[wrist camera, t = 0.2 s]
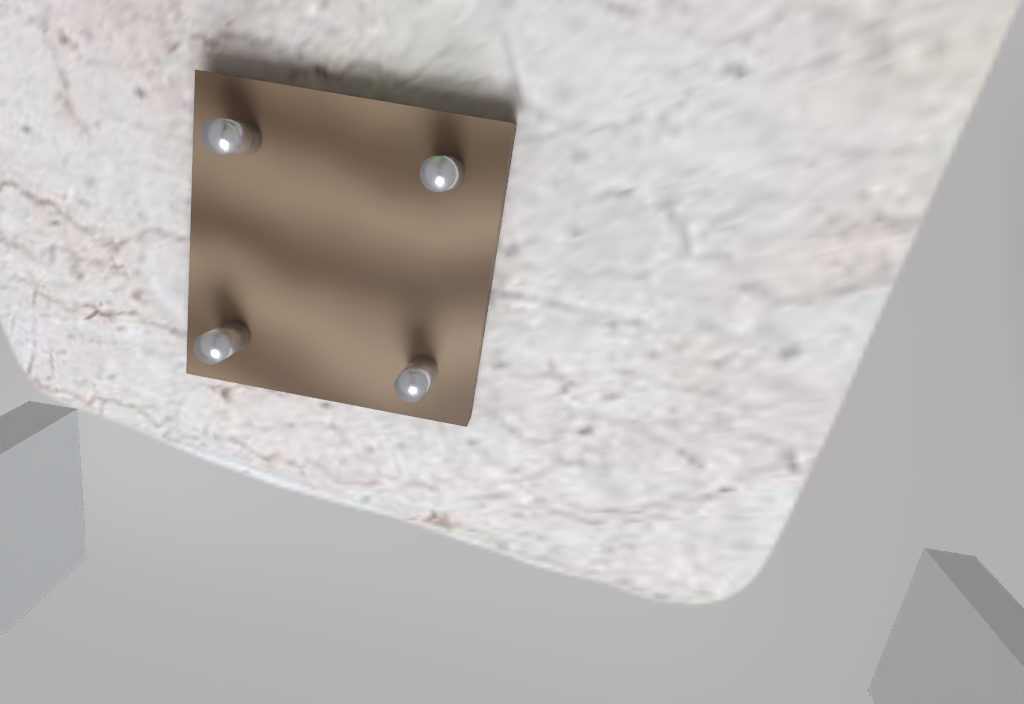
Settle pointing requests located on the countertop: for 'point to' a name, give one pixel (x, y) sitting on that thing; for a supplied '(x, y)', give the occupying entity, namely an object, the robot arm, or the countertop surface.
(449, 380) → the pin nest
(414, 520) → the countertop surface
